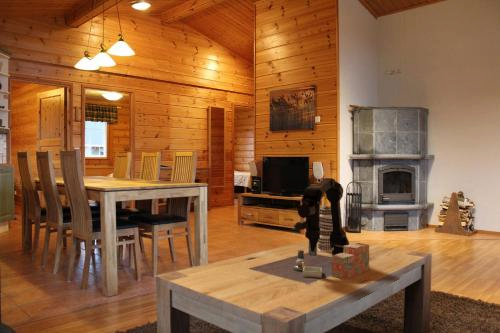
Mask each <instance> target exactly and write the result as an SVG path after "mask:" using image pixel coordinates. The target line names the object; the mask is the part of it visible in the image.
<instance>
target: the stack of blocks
mask: <svg viewBox="0 0 500 333" xmlns="http://www.w3.org/2000/svg"><path fill="white" fill-rule="evenodd" d="M369 270H370V244H366V243H361V242H354V243H349V245H346V246H345V245H344V253H340V254H336V255H332V254H331V276H332V277H335V278H340V279H346V278H350V277H353V276H356V275H359V274H361V273H365V272H367V271H369Z"/></svg>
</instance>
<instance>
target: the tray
mask: <svg viewBox="0 0 500 333" xmlns="http://www.w3.org/2000/svg"><path fill="white" fill-rule="evenodd" d="M322 269H323V268H322V266H321V267H320V266H307V265H306V266H304V267H303V271H302V277H303V278H320V279H321V278H322V277H323V275H322V273H323V270H322Z"/></svg>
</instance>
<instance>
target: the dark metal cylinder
mask: <svg viewBox="0 0 500 333" xmlns="http://www.w3.org/2000/svg"><path fill="white" fill-rule="evenodd" d="M317 251H318V244H317V245H316V247H315V250H314V251H311V246H310V241H309V240H308V255H309V256H310V257H316V256H317V254H318V252H317Z"/></svg>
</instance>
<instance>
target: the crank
mask: <svg viewBox="0 0 500 333" xmlns="http://www.w3.org/2000/svg"><path fill="white" fill-rule="evenodd" d="M304 254H305V252H304V250H303V249H300V250H299V249H298V250H297V259H296V264H295V265H296V266H302V262H304Z"/></svg>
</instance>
